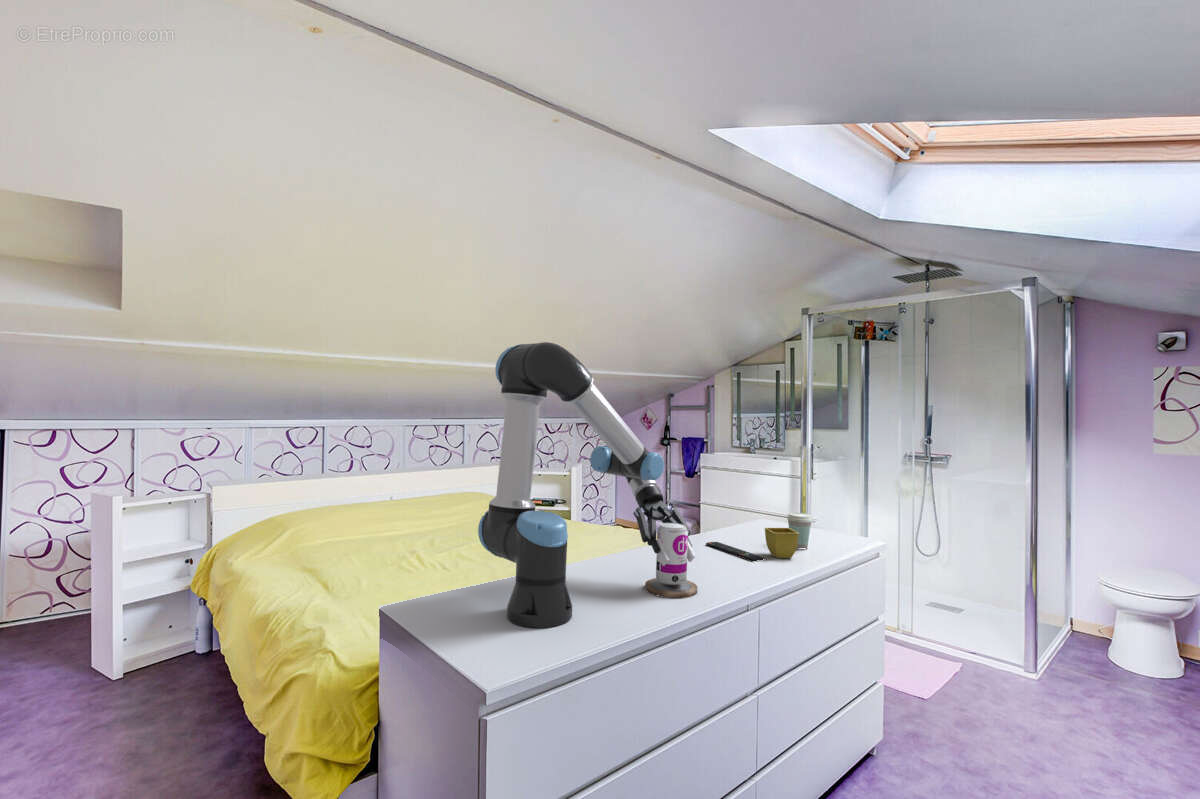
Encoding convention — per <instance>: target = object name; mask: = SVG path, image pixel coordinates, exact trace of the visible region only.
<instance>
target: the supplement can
mask: <svg viewBox="0 0 1200 799" xmlns="http://www.w3.org/2000/svg"><path fill="white" fill-rule="evenodd" d="M688 538H689V536H688V531H687V529H686V526H685V525H683V524H678V523H663V522H662V523H660V524H659V526H658V528H657V529H656V540H657V539H660V541H661V543H662V545H663V547H664V549H665V551H666V554H667V556H668V558H669V561H668V562H667V564H666V565H665V566H662V563H661V561H660V559H659V557H658V555H657V554H656V563H655V564H656V567H655V578H657V579H658V581H659V582H661V583H664V584H671V585H677V584H682V583H684V581H686V580H688V579H687V577H688V576H687V574H688V572H687V571H688V559H687V546H688Z"/></svg>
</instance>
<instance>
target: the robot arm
mask: <svg viewBox="0 0 1200 799" xmlns="http://www.w3.org/2000/svg"><path fill="white" fill-rule="evenodd" d="M494 371H495V377H496V380H498V383H499V385H501V389H500V391H501V392H500V395H501V397H502V398H503V399H504V400H505V410H504V411H505V412H504V418H503V421H504V422H503V426H502V427H503V428H502V438H501V445H500V446H501V448H500V455H499V456H500V457H499V466H498V476H497V485H496V494H495V496H494V497H493V498H492V499H491V500H490V501H489V503H488V510H486V511H485V512H484V515H482V516H481V518H480V520H479V522H478V526H477V532H478V534H477V535H478V539H479V542H480V543H481V545H482V547H483V548H484V549H485V550H486V551H488V552H489V553H491V554H492V555H493V556H495V557H498V558H502V559H505V560H508V561H509V562H512V563H515V566H516V567H515V584H514V586H513V589H512V591H511V595H510V598H509V599H508V600H509V601H508V604H507V606H506V607H507V608H506V618H507V619H508V621H510V622H511V623H513V624H515V625H518V626H521V627H526V628H541V629H542V628H551V627H556V626H560V625H563V624H565V623H568V622H569V621H570V620H571V619H572V617H573V604H572V601H571V597H570V594H569V590H568V586H567V559H568V558H567V556H568V555H567V553H568V537H569V535H568V526H567V525H568V524H567V522H566V520H565V518H563V517H562V516H560V515H559V514H556V513H554V512H551V511H550V512H549V511H545V510H536V504H535V503H534V502H533V500H532V499H531V494H532V486H533V475H534V465H535V457H536V456H535V455H536V445H537V435H538V426H539V417H540V416H539V415H540V406H541V404H542V403H544V402H545V401H546V400H547V397H548V396H547V395H548V391H550V392H552V393H553V394H555V395H557V397H559V399H560V400H561V401H562V402H563V403H569V404H570V405H571V406H572V407H573V408H574V410H576V412H578V414H579V415H580V416H581V417H582V419H584V421H585V422H586V423H587V424H588V425H589V426H590V427H591V429H592V430H593V431H594V433H596V435H597V436H598V437H599V438H600V439H601V440H602V441H603V443H604V444H605V445H606V446H603V445H599V446H596V447H595V448H594V449H593V450H592V452H591V454H590V459H589V464H590V467H591V469H592V470H593V471H595V472H598V473H600V474H607V475H614V476H618V477H623V478H625V480H626V482H627V483H628V485H629V487H630V489H631V492H632V494H633V496H634V498H635V501H636V504H637V505H638V506H637V507H636V509H635V510H634V512H632V514H633V515H634V517H635V519H636V522H637V526H638V529H639V533H640V537H641V540H642V542H643V543H644V544H645V543H647V545H648V546H649V547H650V546H651V548H652V550H653V552H654V553H655V554H656V556H657V555H658V557H659V559H660V561H661V563H662V566H665V565H666V564H667V562H668V561H669V558H668V556H667V554H666V551H665V549H664V547H663V545H662V543H661V541H660V539H657V521H658V522H659V521H661V522H662V523H678V524H683V525H685V526H686V529H687V531H688V546H687V562H688V563H690V562H692V561H693V560H694V559H695V558H696V554H695V552H694V550H693V548H692V547H693V544H692V543H691V540H690V539H689V538H690V535H691V534H692V533H693V532H692V531H693V530H692V529H691V528H690V527H689V525H688V524H687V522H686V521H685V519H684V518H683V517H682V515H681V513H680V512H679V510H678V509H677V506H676V505H675V504H672V505H668V504H667V503H665V501H664V495H663V493H662V491H661V489H660V487H659V486H658V483H657V480H659V479H660V478H661V476H662V475H663V474H664V470H665V462H664V458H663V457H662V455H661V454H659V453H656V452H654V451H649V450H648V449H647V447H645V446H644V444H643V443H642V441H640V438H638V437H637V436H636V435H635V433H634V432H633V431H632V429H630V427H629V426H628V425H627V423H626V422H625V421H624V420H623V418H622V417H621V416H620V414H618V413H617V411H616V410H615V408H613V406H612V405H611V404H610V402H609V401H608V400H607V399H606V397H605V396H604V395H603V394H602V392H601V391H600V390H599V389H598V387H597V386H596V385H595V384H594V383H593V381H594V376H593V375H592V374H591V373H590V371H589V370H588V368H586V366H585V365H584V364H583V363H582V362H581V361H580V360H579V359H578V358H577V357H576V356H575V355H574V354H573V353H572V352H570V351H569V350H567V349H566V348H564V347H562V346H561V345H559V344H556V343H554V342H547V341H543V342H537V343H521V344H516V345H514V346H513V345H512V346H511V347H507V348H506V349H505V350H504V351H503V352H501V353H500V355H499V357H498V358H497V360H496V363H495V370H494ZM645 516H646V517H645Z"/></svg>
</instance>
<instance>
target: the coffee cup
mask: <svg viewBox="0 0 1200 799" xmlns="http://www.w3.org/2000/svg"><path fill="white" fill-rule="evenodd" d="M786 519H787V521H788V522H787V523H788V528H790V529H792V530H794V531H796V532H798V533H799V537H798V544H797V548H807V547H809V540H810V539H809V538H810V534H811V533H810V531H811V526H812V525H811V524H812V522H813V520H812V519H813V518H812V516H811V515H810V514H808V513H804V512H790V513H788V515H787V517H786ZM807 549H808V548H807Z"/></svg>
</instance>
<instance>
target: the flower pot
mask: <svg viewBox="0 0 1200 799" xmlns="http://www.w3.org/2000/svg"><path fill="white" fill-rule="evenodd" d="M764 534H765V543H766V546H767V549H768V551H769V553H770V555H771V556H773V555H774V556H773V557H775V558H776V557H778V558H777V559H791V558H793V556H794V554H795V553H796V551H797V550H798V549H797V544H798V537H799V533H798V532H796V531H794V530H792V529H790V528H789V527H764Z"/></svg>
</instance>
